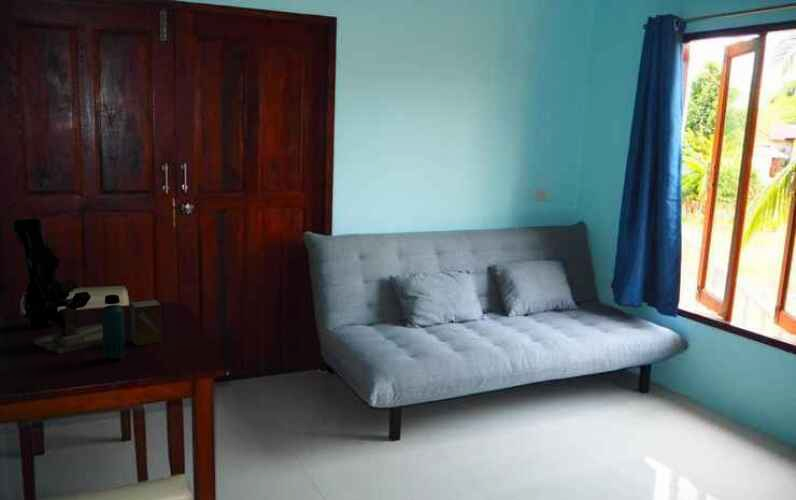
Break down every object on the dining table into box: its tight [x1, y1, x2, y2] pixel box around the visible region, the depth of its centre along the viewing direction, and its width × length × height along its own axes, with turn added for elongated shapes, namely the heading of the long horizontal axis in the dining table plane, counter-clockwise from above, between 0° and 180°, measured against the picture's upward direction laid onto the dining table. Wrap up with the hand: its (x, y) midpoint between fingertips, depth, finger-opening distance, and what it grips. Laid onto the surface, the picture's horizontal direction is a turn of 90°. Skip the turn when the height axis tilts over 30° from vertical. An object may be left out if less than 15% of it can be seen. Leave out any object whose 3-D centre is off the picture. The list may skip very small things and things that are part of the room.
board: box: [33, 323, 103, 355], centre depth 226 cm, size 15×22×2 cm
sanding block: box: [51, 307, 85, 348], centre depth 217 cm, size 8×6×11 cm
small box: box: [130, 299, 162, 347], centre depth 226 cm, size 8×6×13 cm
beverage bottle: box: [100, 294, 127, 359], centre depth 208 cm, size 6×7×20 cm
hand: (70, 326), depth 217 cm, fingers closed on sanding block, 3 cm apart
